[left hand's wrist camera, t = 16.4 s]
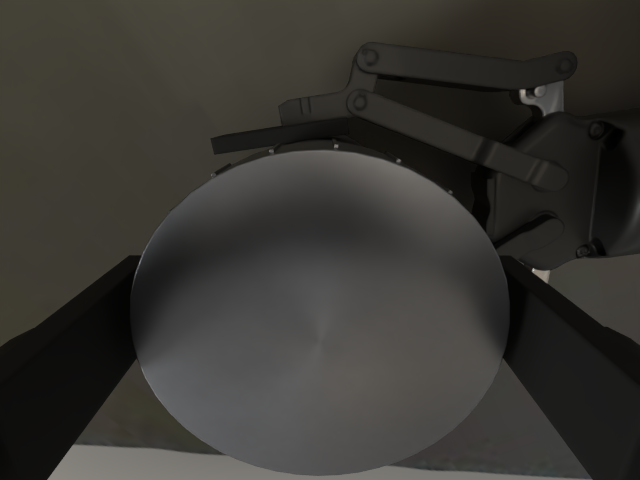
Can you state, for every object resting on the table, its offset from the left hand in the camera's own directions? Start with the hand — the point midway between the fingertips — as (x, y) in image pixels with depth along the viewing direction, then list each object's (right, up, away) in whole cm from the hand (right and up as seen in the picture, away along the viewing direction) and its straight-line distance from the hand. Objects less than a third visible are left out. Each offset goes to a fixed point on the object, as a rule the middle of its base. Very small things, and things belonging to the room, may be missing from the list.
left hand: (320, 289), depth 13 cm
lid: (0, -1, -3) cm, 3 cm away
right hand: (-4, +2, +7) cm, 9 cm away
